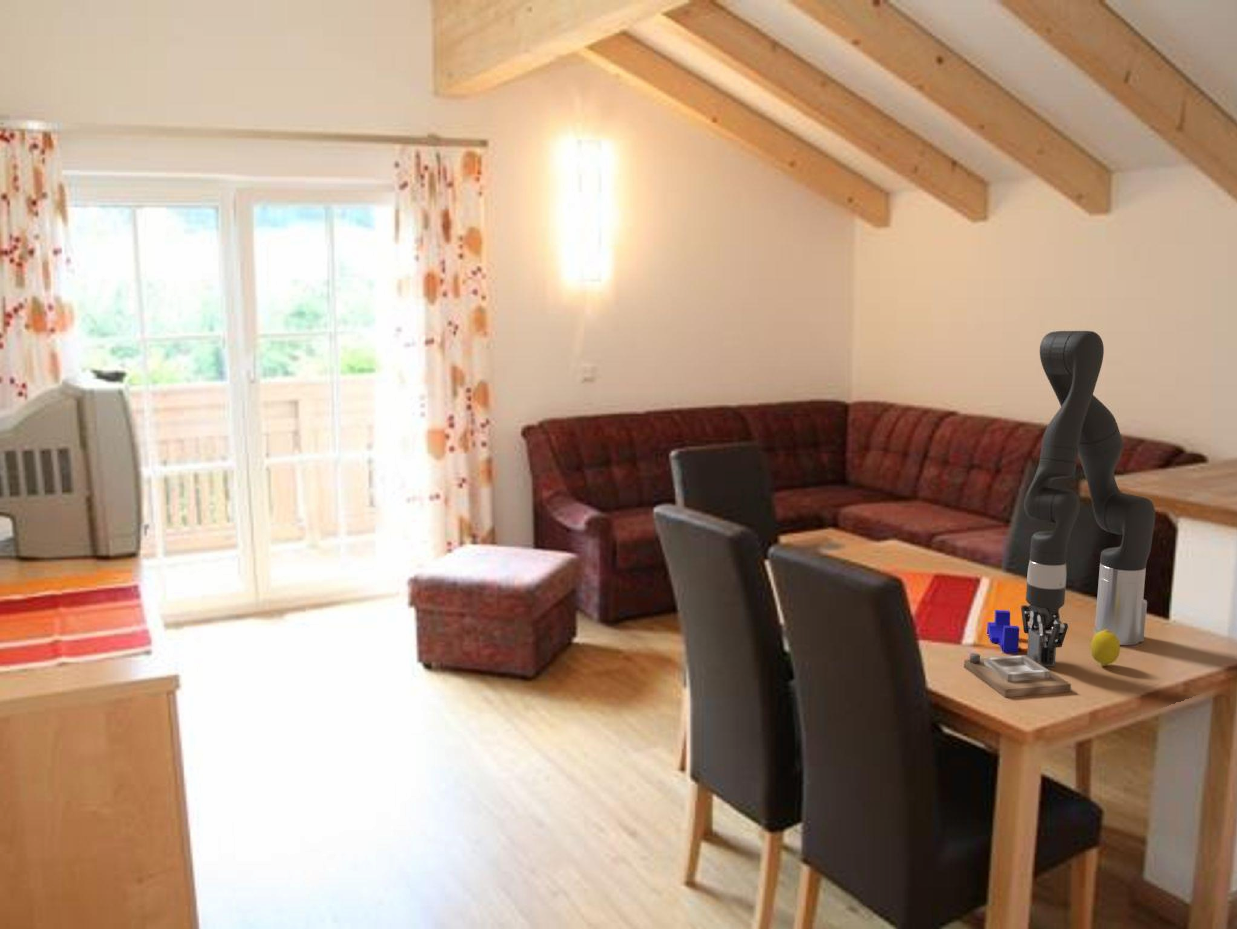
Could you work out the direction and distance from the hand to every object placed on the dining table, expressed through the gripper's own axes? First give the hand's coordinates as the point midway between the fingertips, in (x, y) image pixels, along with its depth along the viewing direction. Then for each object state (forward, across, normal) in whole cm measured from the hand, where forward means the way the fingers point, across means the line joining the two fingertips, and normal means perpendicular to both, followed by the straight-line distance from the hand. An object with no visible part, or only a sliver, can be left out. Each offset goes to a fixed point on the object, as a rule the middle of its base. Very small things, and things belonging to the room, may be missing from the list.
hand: (1040, 659), depth 216 cm
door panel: (+1, -7, +10) cm, 12 cm away
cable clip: (+1, +12, +2) cm, 12 cm away
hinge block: (+1, 0, 0) cm, 1 cm away
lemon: (+1, -4, -12) cm, 13 cm away
